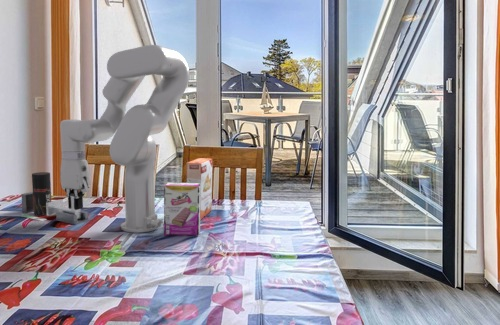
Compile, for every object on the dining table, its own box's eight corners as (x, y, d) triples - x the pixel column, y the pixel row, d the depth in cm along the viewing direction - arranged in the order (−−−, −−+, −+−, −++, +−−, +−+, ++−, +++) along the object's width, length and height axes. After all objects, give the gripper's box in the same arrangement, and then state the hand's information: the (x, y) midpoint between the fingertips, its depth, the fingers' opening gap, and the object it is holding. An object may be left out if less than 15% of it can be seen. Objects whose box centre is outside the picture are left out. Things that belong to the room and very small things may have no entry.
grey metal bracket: (90, 220, 147) (90, 212, 146) (75, 224, 141) (75, 216, 141) (71, 216, 151) (71, 208, 151) (55, 220, 146) (55, 212, 145)
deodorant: (46, 215, 151) (44, 175, 149) (30, 215, 151) (28, 174, 149) (55, 211, 157) (53, 172, 155) (39, 211, 157) (37, 171, 155)
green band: (62, 210, 158) (62, 210, 158) (30, 218, 147) (30, 218, 147) (52, 208, 161) (52, 207, 161) (20, 216, 150) (20, 215, 150)
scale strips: (73, 212, 156) (73, 212, 156) (41, 221, 144) (41, 220, 144) (62, 210, 158) (62, 210, 158) (30, 218, 147) (30, 218, 147)
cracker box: (201, 221, 149) (201, 163, 146) (185, 219, 150) (185, 162, 147) (212, 211, 162) (213, 158, 159) (197, 210, 163) (198, 157, 160)
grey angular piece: (85, 217, 148) (84, 192, 146) (70, 221, 142) (69, 195, 141) (61, 212, 153) (60, 188, 152) (46, 215, 148) (45, 191, 147)
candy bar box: (163, 236, 131) (163, 185, 129) (166, 231, 136) (165, 182, 134) (199, 236, 132) (199, 185, 129) (200, 231, 137) (200, 182, 134)
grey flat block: (41, 209, 159) (40, 191, 158) (26, 213, 154) (25, 194, 153) (37, 208, 160) (36, 191, 159) (22, 212, 155) (21, 193, 154)
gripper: (98, 156, 142) (100, 209, 145) (67, 153, 149) (69, 203, 152) (80, 159, 135) (82, 214, 138) (48, 155, 143) (51, 207, 145)
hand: (75, 207), depth 145 cm, fingers closed
